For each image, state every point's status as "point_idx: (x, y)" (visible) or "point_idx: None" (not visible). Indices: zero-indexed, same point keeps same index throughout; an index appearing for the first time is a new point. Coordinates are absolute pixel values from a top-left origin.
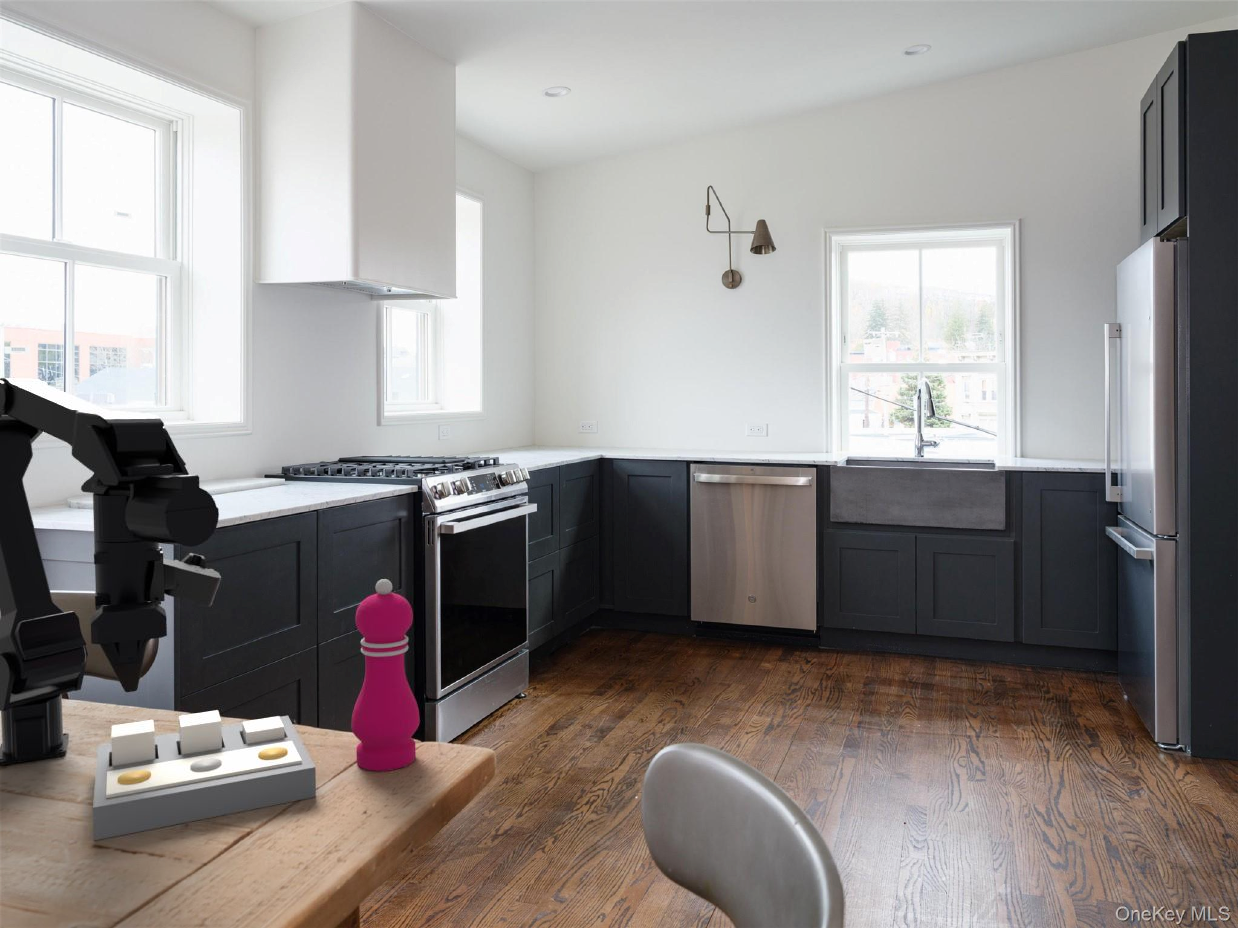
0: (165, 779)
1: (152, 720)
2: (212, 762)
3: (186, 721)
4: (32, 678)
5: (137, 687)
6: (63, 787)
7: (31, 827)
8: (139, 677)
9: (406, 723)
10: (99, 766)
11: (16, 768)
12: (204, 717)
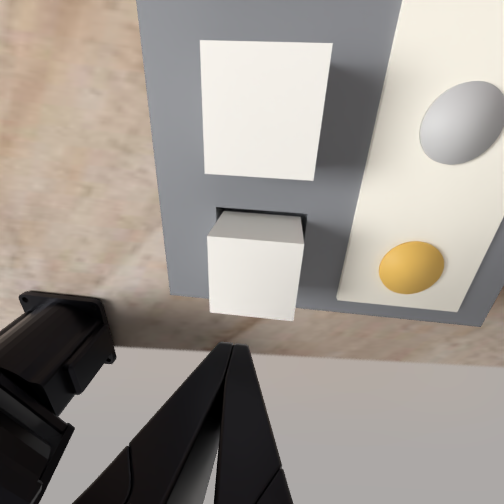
0: (468, 219)
1: (213, 238)
2: (469, 107)
3: (270, 159)
4: (31, 467)
5: (248, 350)
6: None
7: (342, 342)
8: (258, 382)
9: None
10: None
11: (128, 342)
12: (261, 100)
